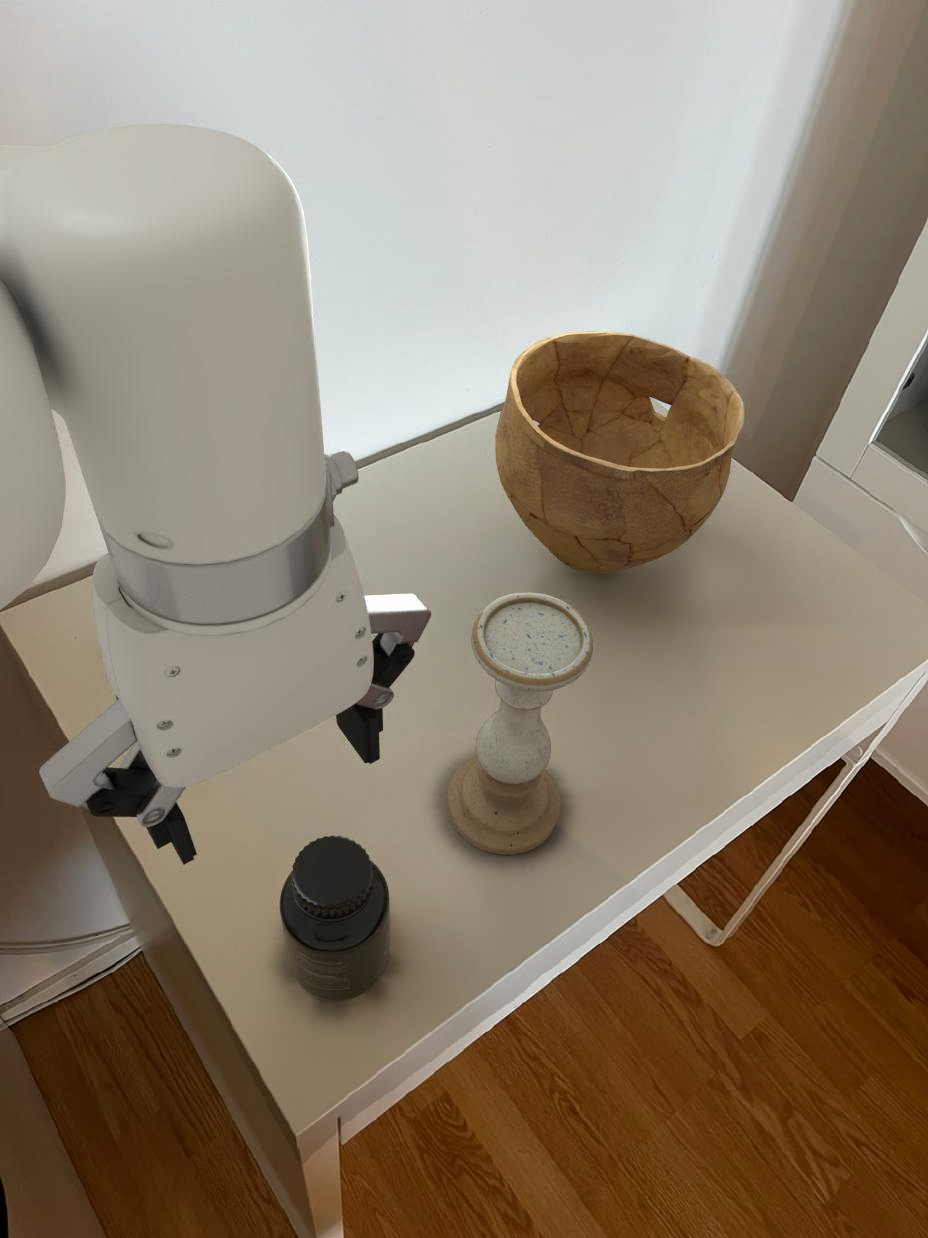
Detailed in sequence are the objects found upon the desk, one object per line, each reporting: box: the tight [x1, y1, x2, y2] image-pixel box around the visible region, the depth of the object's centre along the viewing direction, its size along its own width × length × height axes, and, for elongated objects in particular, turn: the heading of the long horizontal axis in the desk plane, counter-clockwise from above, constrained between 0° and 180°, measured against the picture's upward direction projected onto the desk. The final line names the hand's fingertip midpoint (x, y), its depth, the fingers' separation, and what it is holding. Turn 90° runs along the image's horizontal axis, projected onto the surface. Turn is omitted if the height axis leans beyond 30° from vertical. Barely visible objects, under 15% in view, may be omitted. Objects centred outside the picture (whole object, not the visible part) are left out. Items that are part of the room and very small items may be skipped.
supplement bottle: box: [279, 834, 391, 1002], centre depth 59 cm, size 7×7×12 cm
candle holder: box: [446, 591, 594, 855], centre depth 65 cm, size 9×9×20 cm
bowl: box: [494, 330, 745, 575], centre depth 83 cm, size 21×20×20 cm
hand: (271, 788), depth 45 cm, fingers open, 9 cm apart
